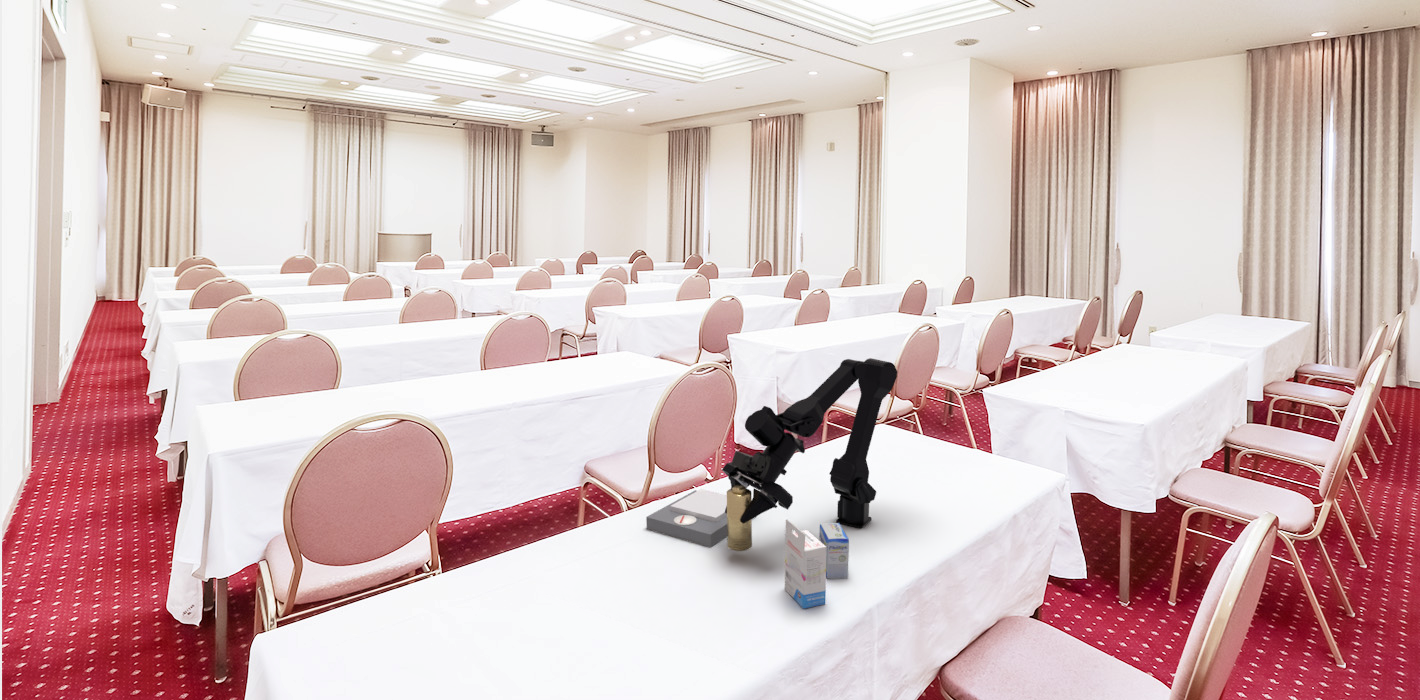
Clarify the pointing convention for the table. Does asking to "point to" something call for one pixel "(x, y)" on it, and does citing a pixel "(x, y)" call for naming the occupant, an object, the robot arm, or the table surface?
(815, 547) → the ink box
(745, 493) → the brass weight
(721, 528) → the scale
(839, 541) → the medicine box
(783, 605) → the table surface
